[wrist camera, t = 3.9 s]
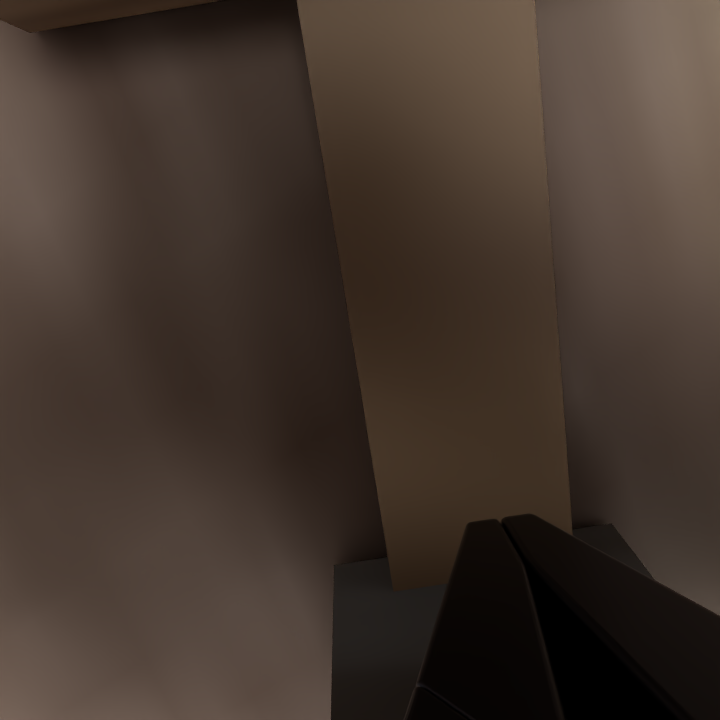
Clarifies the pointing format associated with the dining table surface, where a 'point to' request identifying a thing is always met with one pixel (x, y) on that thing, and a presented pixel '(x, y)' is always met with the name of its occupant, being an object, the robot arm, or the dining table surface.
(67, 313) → the dining table surface
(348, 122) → the tan tray with handle
